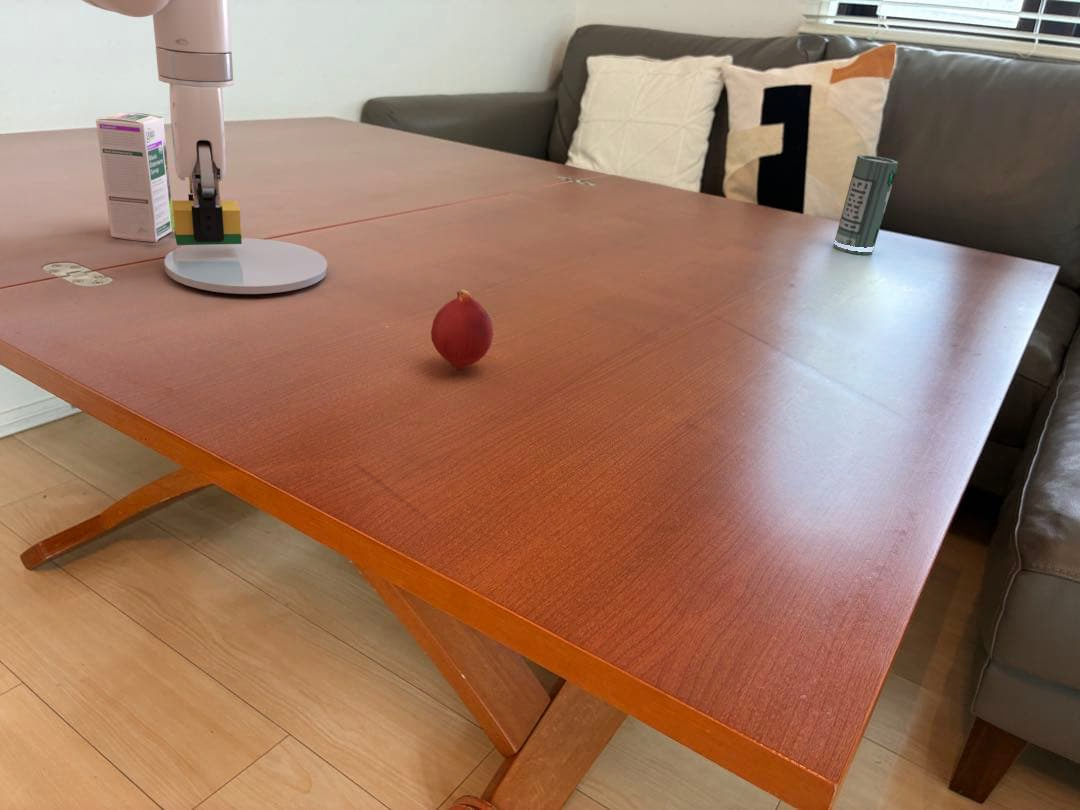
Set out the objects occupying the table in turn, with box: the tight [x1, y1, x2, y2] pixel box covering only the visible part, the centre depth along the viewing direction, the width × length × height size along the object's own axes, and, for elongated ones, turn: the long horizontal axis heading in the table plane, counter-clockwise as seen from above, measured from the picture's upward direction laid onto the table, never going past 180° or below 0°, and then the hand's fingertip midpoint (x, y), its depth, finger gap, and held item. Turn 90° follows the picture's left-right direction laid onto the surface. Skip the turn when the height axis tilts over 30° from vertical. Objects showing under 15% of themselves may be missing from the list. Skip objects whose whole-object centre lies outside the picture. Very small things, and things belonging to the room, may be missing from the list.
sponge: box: [171, 200, 242, 246], centre depth 98 cm, size 7×4×4 cm, turn 114°
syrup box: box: [95, 111, 174, 243], centre depth 105 cm, size 6×6×14 cm
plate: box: [163, 237, 328, 295], centre depth 99 cm, size 18×18×2 cm
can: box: [833, 154, 900, 256], centre depth 140 cm, size 6×6×15 cm
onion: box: [430, 289, 494, 370], centre depth 80 cm, size 6×6×8 cm
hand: (207, 233), depth 99 cm, fingers closed on sponge, 4 cm apart
